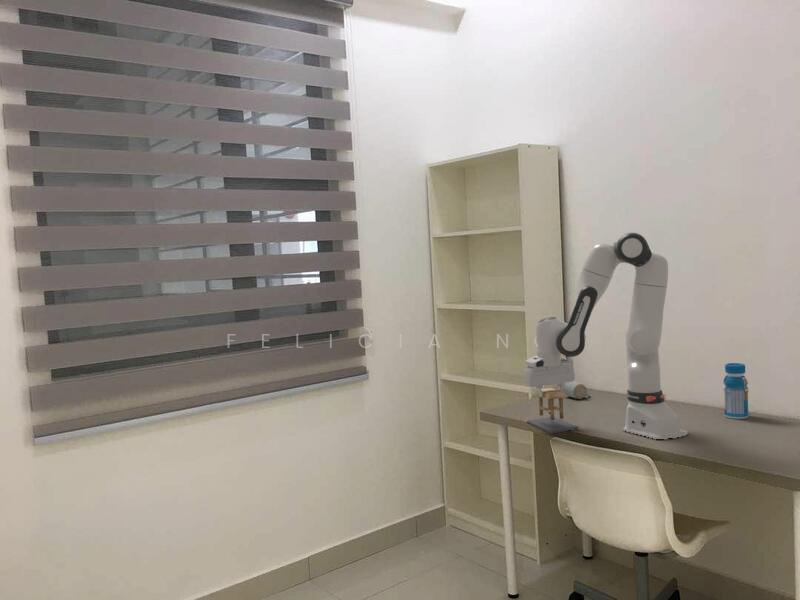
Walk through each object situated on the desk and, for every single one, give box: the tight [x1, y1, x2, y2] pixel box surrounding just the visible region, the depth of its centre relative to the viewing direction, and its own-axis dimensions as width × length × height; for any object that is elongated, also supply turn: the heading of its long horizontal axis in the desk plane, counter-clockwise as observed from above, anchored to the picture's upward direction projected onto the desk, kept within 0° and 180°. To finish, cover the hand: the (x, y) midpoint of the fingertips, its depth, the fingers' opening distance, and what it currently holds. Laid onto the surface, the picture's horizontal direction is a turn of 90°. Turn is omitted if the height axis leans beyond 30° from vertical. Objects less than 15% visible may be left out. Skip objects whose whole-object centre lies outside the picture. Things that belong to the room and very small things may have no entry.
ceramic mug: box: [563, 379, 591, 400], centre depth 290 cm, size 11×8×8 cm
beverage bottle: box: [722, 362, 750, 420], centre depth 243 cm, size 8×8×20 cm
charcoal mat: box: [526, 416, 580, 435], centre depth 246 cm, size 18×12×1 cm, turn 18°
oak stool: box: [536, 387, 566, 420], centre depth 246 cm, size 10×6×10 cm, turn 18°
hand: (550, 395), depth 246 cm, fingers closed on oak stool, 6 cm apart
